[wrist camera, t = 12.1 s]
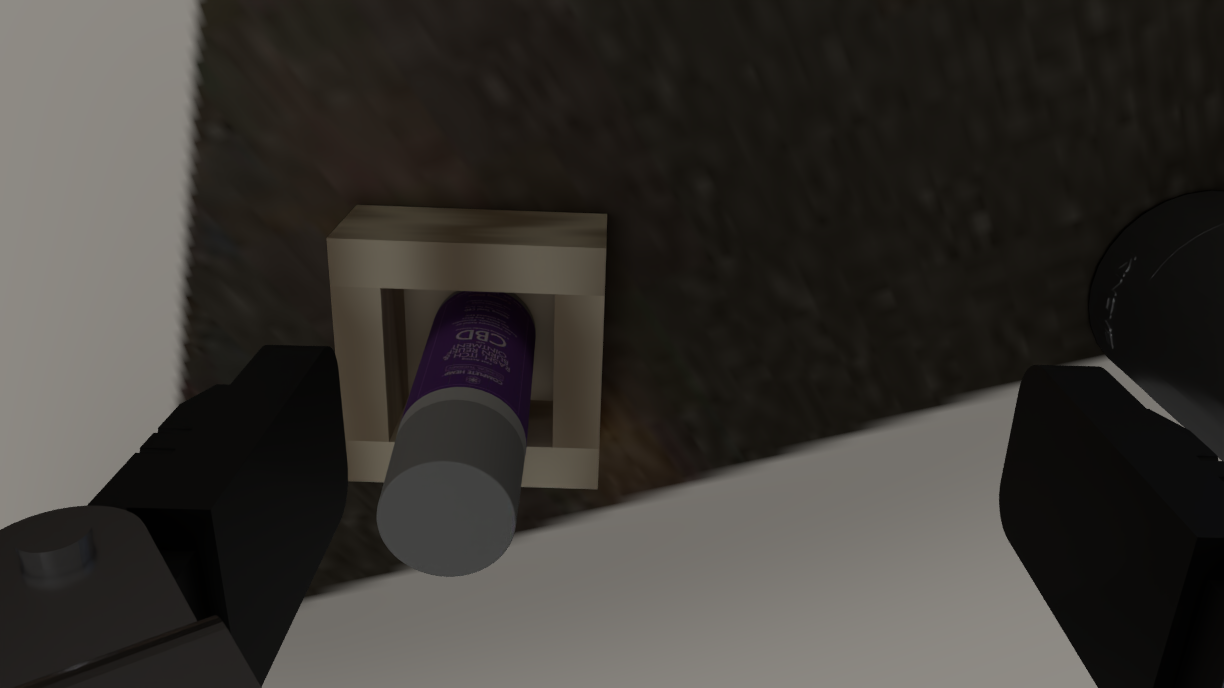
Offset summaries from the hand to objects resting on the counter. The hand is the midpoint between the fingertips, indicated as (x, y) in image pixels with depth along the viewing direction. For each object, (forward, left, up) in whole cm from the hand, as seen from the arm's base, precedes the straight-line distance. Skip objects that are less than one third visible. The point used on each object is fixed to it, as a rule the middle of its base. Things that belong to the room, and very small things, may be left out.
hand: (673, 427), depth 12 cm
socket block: (+6, +12, -32) cm, 35 cm away
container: (+6, +12, -32) cm, 35 cm away
